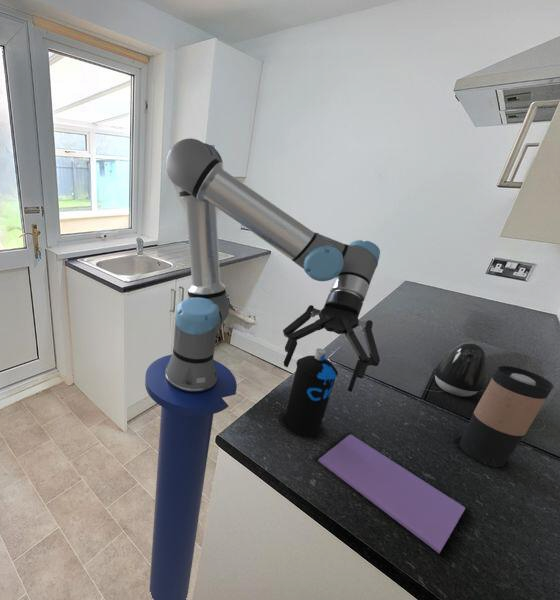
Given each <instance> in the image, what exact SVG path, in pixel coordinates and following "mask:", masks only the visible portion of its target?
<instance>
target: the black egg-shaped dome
mask: <svg viewBox="0 0 560 600" xmlns="http://www.w3.org/2000/svg"><path fill="white" fill-rule="evenodd" d="M433 372H434V380H435V383H436V385H437V386H438V387H439V388H440V390H441V389H442V391H444V392H445V393H448V394H450V395H453V396H457V397H465V398H466V397H472V396H474V395H476V394H477V393H479V392H480V391H482V390H483V388H484V387H485V383H486V379H487V372H488V359H487V354H486V351H485V350H484V348H483V347H482V346H481V345H479V344H477V343H474V342H463V343H461V344H458V345H457V346H455V347H454V348H452V349H451V350H450V351H449V352H448V353H447V354H445V356H444V357H443V358H442V359H441V361H440V362H439V363H438V364H437V366H436V367H435V369H434V371H433Z"/></svg>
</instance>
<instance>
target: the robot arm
mask: <svg viewBox="0 0 560 600" xmlns="http://www.w3.org/2000/svg"><path fill="white" fill-rule="evenodd" d="M165 170H166V174H167V176H168V178H169V180H170V181H171V182H172V184H174V185H175V186H177V187H178V194H179V199H180V200H182V202H184V203H185V214H186V225H187V235H188V237H187V239H188V250H189V261H190V263H189V264H190V275H191V276H190V277H191V284H190V286H189V287H188V288H187V298H186V299H184V300H181V301H180V303H178V305H177V307H176V311H175V314H174V316H175V317H174V333H173V346H172V348H173V349H172V353H171V355H172V356H171V358H170V361H169V363H168V365H167V367H166V370H165V379H166V381H167V382H168V384H169V385H170V386H172V387H173V388H175V389H177V390H179V391H182V392H185V393H192V394H198V393H204V392H207V391H210V390H211V389H213V388H214V387H215V385H216V382H217V372H216V368H215V363H214V360H215V359H214V354H215V348H216V340H217V335H218V333H219V331H220V329H221V327H222V326H223V323H224V322H225V321H226V319H227V317H228V315H229V313H230V301H229V298H228V296H227V291H226V285H225V284H224V283H223V282H222V281H221V271H220V256H219V255H220V254H219V251H220V250H219V233H218V215H217V214H218V213H217V208H218V210H220V211H221V212H222V213H224V214H226V215H227V216H228V217H230V218H231V219H233V220H234V221H236V222H237V223H238V224H239V225H241V226H243V227H244V228H245V229H247V230H248V231H250V232H251V233H253V234H254V235H255V236H257V237H258V238H260V239H261V240H263V241H264V242H265V243H266V244H268V245H270V247H273V248H274V249H276V250H277V251H278V252H280V253H281V254H282V255H284V256H285V257H286V258H288V259H290V260H291V261H292V262H294V264H296V265H298V266H299V267H300V268H302V269H303V271H304V273H306V275H307V276H308V277H309V278H310V279H312V280H314V281H318V282H329V281H331V280H333V279H334V280H333V283H332V285H331V287H330V289H329V293H328V295H327V297H326V300H325V302H324V305H323V307H322V309H318V308H315V307H314V305H313V304H310V305H308V307H307V309H306V310H305V311H304V312H303V313H302V314H301V315H300V316H298V317H297V318H296V319H295V320H294V321H292V322H291V323H290V324H289V325H288V326H286V327H285V328H283V329H282V333H283V336H284V337H285V338H287V341H286V343H285V346H284V351H285V353H286V356H285V357H284V360H283V366H284V367H285V368H289V365H290V363H291V361H292V358H293V356H294V353H295V351H296V348H297V345H298V340H301V339H302V338H304V337H306V336H309V335H311V334H313V333H315V332H317V331H321V330H324V329H325V331H326V332H330V333H331V332H332V333H334V334H337V335H339V336H340V335H343V334H344V335H345V337H346V339H347V340H348V342H349V343H350V345H351V346H352V349H353V351H354V353H355V355H356V356H357V358H358V359H357V362H356V365H355V368H354V370H353V372H352V376H351V380H350V382H349V385H348V388H347V391H349V392H353V389H354V386H355V384H356V380H357V378H358V379H363V378H364V377H365V374H366V372H367V368H368V366H373V367H378V366H379V364H380V362H381V358H380V354H379V351H378V347H377V344H376V341H375V337H374V333H373V330H372V329H373V324H374V322H373V321H372V320H366V321H365V320H364V321H363V320H359V316H360V313H361V312H362V311H361V310H362V308H363V305H364V302H365V300H366V297H367V294H368V291H369V288H370V285H371V282H372V279H373V277H374V274H375V271H376V269H377V267H378V265H379V261H380V257H381V256H380V255H381V250H380V248H379V246H378V245H377V244H375V243H374V242H372V241H369V240H365V241H364V240H363V239H357V240H353V241H351V242H350V243H349V244H346V243H342V242H341V241H338V240H336V239H333V238H331V237H328V236H325V235H323V234H321V233H319V232H315V231H313V230H312V229H310V228H308V227H307V226H306V225H304V224H303V223H301V222H300V221H299V220H297V219H296V218H294V217H293V216H291V215H290V214H288V213H287V212H285V211H284V210H283V209H281V208H280V207H278V206H277V205H276V204H273V203H272V202H271V201H269V200H268V199H266V198H265V197H264V196H262V195H261V194H259V193H258V192H257V191H255V190H253V189H252V188H251V187H249V186H248V185H246V184H244V182H242V181H240V180H239V179H237V178H236V177H234V176H233V175H232V174H230V173H229V172H228V171H226V170H225V169H224V162H223V159H222V156H221V153H219V151H218V150H217V149H216V148H215V147H214V146H212V145H211V144H208V143H205V142H202V141H201V140H199V139H197V138H193V137H192V138H191V137H190V138H183V139H181V140H179V141H176V143H175V144H174V145H173V146H172V147H171V148H170V149H169V151H168V153H167V155H166V161H165ZM316 316H318V317H319V319H316V320H315V321H314V322H312V323H310V324H308V325H306V326H304V324H306V323H307V322H308V321H309V320H310V319H311V318H314V317H316ZM302 326H304V327H302ZM299 328H300V329H299ZM356 328H360V331H362V332H363V335H364V339H365V343H366V347H367V350H368V354H367V352H366V351H365V349H364V347H363V345H362V343H361V342H360V341H359V339H358V337H357V335H356V333H355V330H354V329H356ZM368 355H369V356H368Z"/></svg>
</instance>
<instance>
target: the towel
mask: <svg viewBox="0 0 560 600" xmlns="http://www.w3.org/2000/svg"><path fill="white" fill-rule="evenodd" d="M318 463H319V464H321V465H322V466H323V467H325V468H326V469H328V470H329V471H330V472H332V473H333V474H334V475H336V476H337V477H338V478H340V480H342V481H343V482H345V483H346V484H347V485H349V487H352V488H353V489H354V490H355V491H357V492H358V493H359V494H361V496H363V497H364V498H365V499H367V500H368V501H369V502H371V503H372V504H373V505H374V506H376V507H378V509H380V510H381V511H383V512H384V513H386V514H387V515H388V516H389V517H391V518H392V519H393V520H395V521H396V522H397V523H398V524H400V525H401V526H402V527H404V528H405V529H406V530H408V531H409V532H410V533H412V534H413V535H414V536H416V537H417V538H418V539H419V540H421V542H423V543H425V545H427V546H429V547H430V548H431V549H432V550H434V551H435V552H436V553H437V554H441V552H442V550H443V548H444V546H445V545H446V544H447V542H448V540H449V538H450V536H451V535H452V532H453V531H454V530H455V528H456V526H457V524H458V522H459V520H460V519H461V517H462V515H463V514H464V512H465V510H466V507H465V506H463V505H462V504H461V503H459V502H457V501H456V500H455V499H453V498H451V497H449V496H448V495H447V494H445V493H443V492H442V491H440V490H439V489H437V488H435V487H434V486H433V485H431V484H430V483H427V482H426V481H425V480H423V479H422V478H421V477H418V476H417V475H415V474H414V473H412V472H411V471H409V470H407V469H406V468H404V467H403V466H401V465H400V464H398V463H397V462H395V461H393V460H392V459H391V458H389V457H387V456H386V455H384V454H382V453H381V452H379V451H378V450H376V449H375V448H374V447H372V446H370V445H369V444H367V443H365V442H364V441H362V440H361V439H360V438H357V437H356V436H354V435H353V434H349V435H347V436H346V437H345V438H343V439H342V440H341V441H339V442H338V443H337V444H335V446H334V447H331V448H330V449H329V450H328V451H326V452H325V454H323V455H322V456H320V457H319V458H318Z"/></svg>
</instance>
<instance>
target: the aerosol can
mask: <svg viewBox="0 0 560 600" xmlns="http://www.w3.org/2000/svg"><path fill="white" fill-rule="evenodd" d="M326 354H327V350H325V349H324V348H320V347H319V348H316V350H315V353H314V355H305V356H303V357H301V358H298V359H297V360H296V367H295V368H296V369H295V372H294V376H293V381H292V385H291V389H290V394H289V398H288V401H287V406H286V410H285V413H284V415H283V417H282V421H283V424H284V426H285V427H286V428H287V429H288V430H290V431H291V432H292V433H294V434H296V435H297V436H300V437H304V438H315V437H317V436H319V435H320V434H321V430H322V429H321V426H322V423H323V420H324V416H325V414H326V410H327V406H328V403H329V401H330V397H331V393H332V390H333V387H334V383H335V379H336V378H337V377H338V375H339V372H338V370H337V368H336V367H335V365H334V364H333V363H332V362H331V361H330V360H328V359H326Z"/></svg>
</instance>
